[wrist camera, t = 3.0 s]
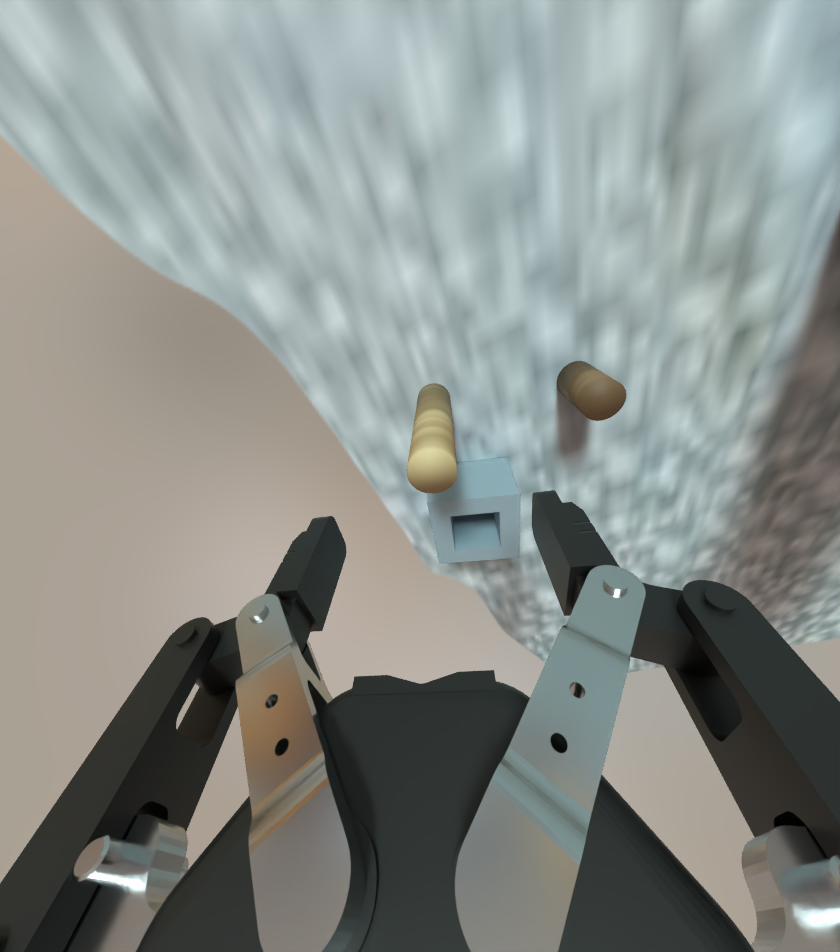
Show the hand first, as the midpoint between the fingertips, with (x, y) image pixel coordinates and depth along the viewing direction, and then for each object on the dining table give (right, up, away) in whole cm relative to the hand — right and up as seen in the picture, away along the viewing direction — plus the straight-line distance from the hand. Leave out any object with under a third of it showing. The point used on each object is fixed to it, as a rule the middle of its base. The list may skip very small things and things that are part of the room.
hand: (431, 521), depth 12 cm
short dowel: (+10, +9, +9) cm, 16 cm away
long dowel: (+1, +8, +10) cm, 13 cm away
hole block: (+4, 0, +15) cm, 16 cm away
